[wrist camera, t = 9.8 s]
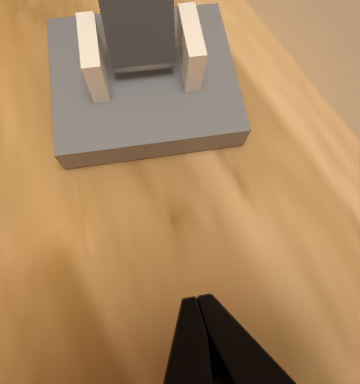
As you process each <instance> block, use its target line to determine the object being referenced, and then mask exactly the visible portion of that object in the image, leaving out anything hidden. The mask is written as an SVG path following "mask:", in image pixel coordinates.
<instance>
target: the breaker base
mask: <svg viewBox="0 0 360 384" xmlns="http://www.w3.org/2000/svg"><path fill="white" fill-rule="evenodd" d="M174 20H175V43H176V62H175V67H174V68H165V69H155V70H146V71H137V72H128V73H119V74H114V71H113V68H112V69H111V64H110V59H109V53H108V48H107V43H106V38H105V33H104V27H103V22H102V17H101V14H95V13H94V11H90V12H79V13H76V16H72V17H61V18H50V19H47V35H48V52H49V69H50V87H51V104H52V121H53V138H54V155H55V157H56V159H57V160H58V161H59V162H60V164H61V165H62V166H63V167H64V168H65V169H72V168H80V167H87V166H95V165H102V164H109V163H117V162H124V161H132V160H139V159H146V158H154V157H161V156H168V155H176V154H183V153H191V152H198V151H205V150H213V149H220V148H228V147H235V146H242V145H243V144H244V142H245V140H246V138H247V136H248V135H249V133H250V131H251V129H250V126H249V122H248V118H247V114H246V110H245V106H244V102H243V99H242V95H241V91H240V87H239V83H238V79H237V75H236V72H235V68H234V64H233V60H232V56H231V52H230V48H229V45H228V41H227V37H226V33H225V29H224V25H223V21H222V18H221V14H220V10H219V6H218V3H216V4H204V5H196V4H195V2H190V3H179V4H178V7H174Z"/></svg>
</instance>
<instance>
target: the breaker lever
mask: <svg viewBox="0 0 360 384" xmlns="http://www.w3.org/2000/svg"><path fill="white" fill-rule="evenodd" d="M98 1H99V7H100V12H101V17H102V22H103V27H104V33H105V38H106V43H107V48H108V53H109V59H110V64H111V69H112V68H113V71H114V74H119V73H128V72H137V71H146V70H155V69H165V68H174V67H175V62H176V43H175V20H174V0H98Z"/></svg>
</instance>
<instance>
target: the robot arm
mask: <svg viewBox="0 0 360 384" xmlns="http://www.w3.org/2000/svg"><path fill="white" fill-rule="evenodd" d="M163 384H296V383H295V381H294V380H293V379H292V378H291V377H290V376H289V375H288V374H287V373H286V372H285V371H284V370H283V369H282V368H281V367H280V366H279V365H278V364H277V362H276V361H275V360H274V359H273V358H272V357H271V356H270V355H269V354H268V353H267V352H266V351H265V350H264V349H263V348H262V347H261V346H260V344H259V343H258V342H257V341H256V340H255V339H254V338H253V337H252V336H251V335H250V334H249V333H248V332H247V331H246V330H245V329H244V328H243V327H242V325H241V324H240V323H239V322H238V321H237V320H236V319H235V318H234V317H233V316H232V315H231V314H230V313H229V312H228V311H227V310H226V309H225V307H224V306H223V305H222V304H221V303H220V302H219V301H218V300H217V299H216V298H215V297H214V296H213V295H212V294H205V295H199V296H198V297H197V298H196V297H195V296H193V297H188V298H183V299H182V301H181V305H180V310H179V314H178V319H177V323H176V328H175V332H174V337H173V341H172V345H171V350H170V354H169V359H168V363H167V368H166V372H165V377H164V381H163Z"/></svg>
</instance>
